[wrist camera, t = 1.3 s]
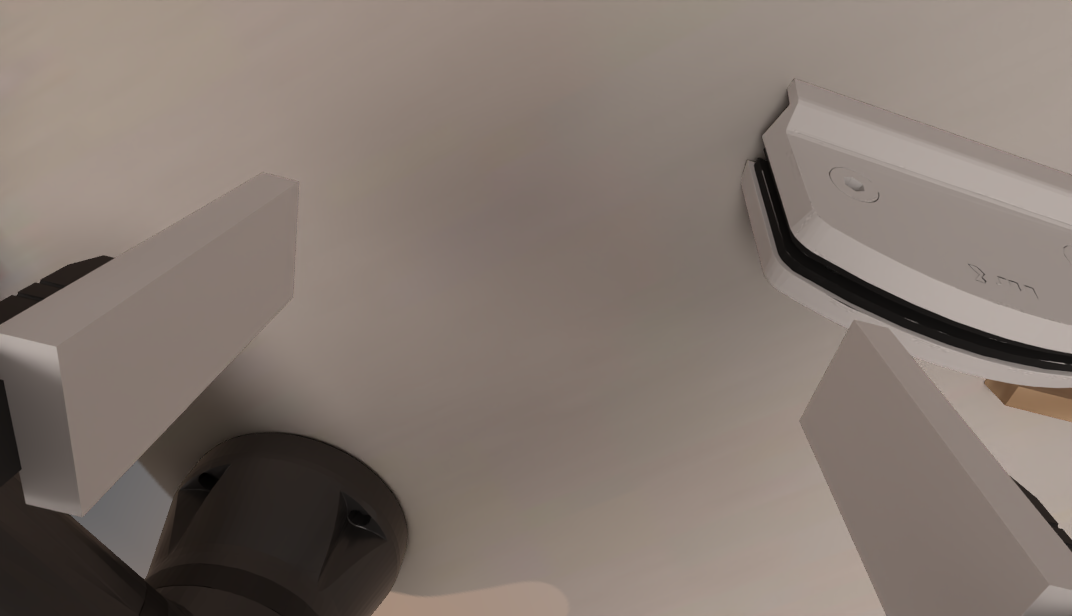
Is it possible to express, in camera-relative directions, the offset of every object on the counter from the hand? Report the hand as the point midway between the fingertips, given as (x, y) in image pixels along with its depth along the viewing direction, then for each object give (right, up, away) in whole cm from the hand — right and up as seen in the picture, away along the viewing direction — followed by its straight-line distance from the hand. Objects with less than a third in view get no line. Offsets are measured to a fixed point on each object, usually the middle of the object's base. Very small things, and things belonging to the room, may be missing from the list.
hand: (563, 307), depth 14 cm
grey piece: (+17, +5, +17) cm, 25 cm away
